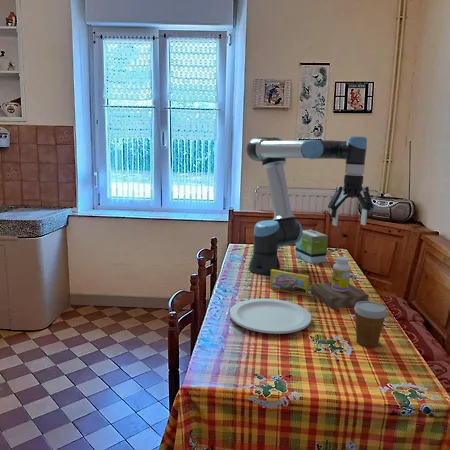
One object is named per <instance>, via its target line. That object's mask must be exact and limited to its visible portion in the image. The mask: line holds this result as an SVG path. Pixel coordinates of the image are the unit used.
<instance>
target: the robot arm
mask: <svg viewBox="0 0 450 450" xmlns="http://www.w3.org/2000/svg"><path fill="white" fill-rule="evenodd" d="M367 144H368V139H367V137H365V136H356V135H355V136H353V135H352V136H348V139H347V141H346V140H331V139H330V140H327V139H323V140H322V139H302V140H301V139H300V140H299V139H296V140H294V139H293V140H287V139H285V140H284V139H282V138H279V137H275V136H274V137H267V136H264V137H263V136H262V137H261V136H257V137H253V138H251V139H250V140H249V141H248V143H247V145H246V154H247V156H248V157H249V159H251V160H252V161H255V162H261V163H262V168H264V169H265V170H266V175H267V180H268V186H269V187H268V188H269V192H270V198H271V205H272V210H273V219H268V220H261V221H258V222H256V223H255V224H254V227H253V229H254V230H253V244H252V245H253V246H252V247H253V250H252V255H251V259H250V260H249V264H248V271H250V272H252V273H255V274H260V275H271V270H272V269H274V270H280V271H281V264H280V260H279V255H278V253H279V252H278V251H279V248H280V247H284V246H285V247H286V246H292V245H294V244H295V245H296V243H297V242H298V241H299V240H300V239H301V237H302V233H303V230H304V229H303V226H302V224H301V223H300V221H298V220H297V219H296V215H294V214H293V213H292V208H291V203H290V202H291V201H290V196H289V192H288V191H289V190H288V185H287V179H286V174H285V167H284V166H285V164H286V162H287V161H286V159H309V160H318V159H325V160H326V159H329V160H331V159H332V160H333V159H335V160H345V170H344V173H345V175H344V177H343V186H341V185H336V189H335V192H334V194H333V196H332V197H331V199H330V201H329V203H328V205H327V208H329V209H331V218H332V221H331V222H332V226H335V227H337V226H338V220H339V213H340V212H339V210H338V209H339V208H340V207H341V205H342V204H343V203H344V202H345V201H346V200H347V199H348V198H357V200H358V201H359V203H360V205H361V206H362V209H361V217H360V218H361V219H360V225H363V226H366V225H367V218H368V217H369V213H370V211H371V209H374V204H373V201H372V198H371V195H370V191H369V190H370V188H369V186H366V185H363V184H364V174H365V167H366V166H365V164H366V163H365V162H366V154H367V148H368V147H367ZM362 193H363V195H362ZM363 196H364V197H363Z"/></svg>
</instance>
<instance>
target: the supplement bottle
mask: <svg viewBox="0 0 450 450" xmlns="http://www.w3.org/2000/svg"><path fill="white" fill-rule="evenodd" d="M335 261H336V262H335V263H334V264H333V266H332V274H331V283H332V284H331V288H332V289H333V290H335V291H338V292H346V291H348V289H349V284H350V278H351V265H350V264H349V261H350V259H349V258H348V257H346V256H337V257H336V259H335Z"/></svg>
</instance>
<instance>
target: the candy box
mask: <svg viewBox="0 0 450 450" xmlns="http://www.w3.org/2000/svg"><path fill="white" fill-rule="evenodd" d="M269 279H270V282H269V289H271V290H272V289H273V290H276V291H280V292H286V293H290V294H295V295H301V296H305V297H307V296H309V286H310V275H306V274H301V273H295V272H290V271H285V270H281V269H280V270H274V269H272V270H271V274H270V277H269Z"/></svg>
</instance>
